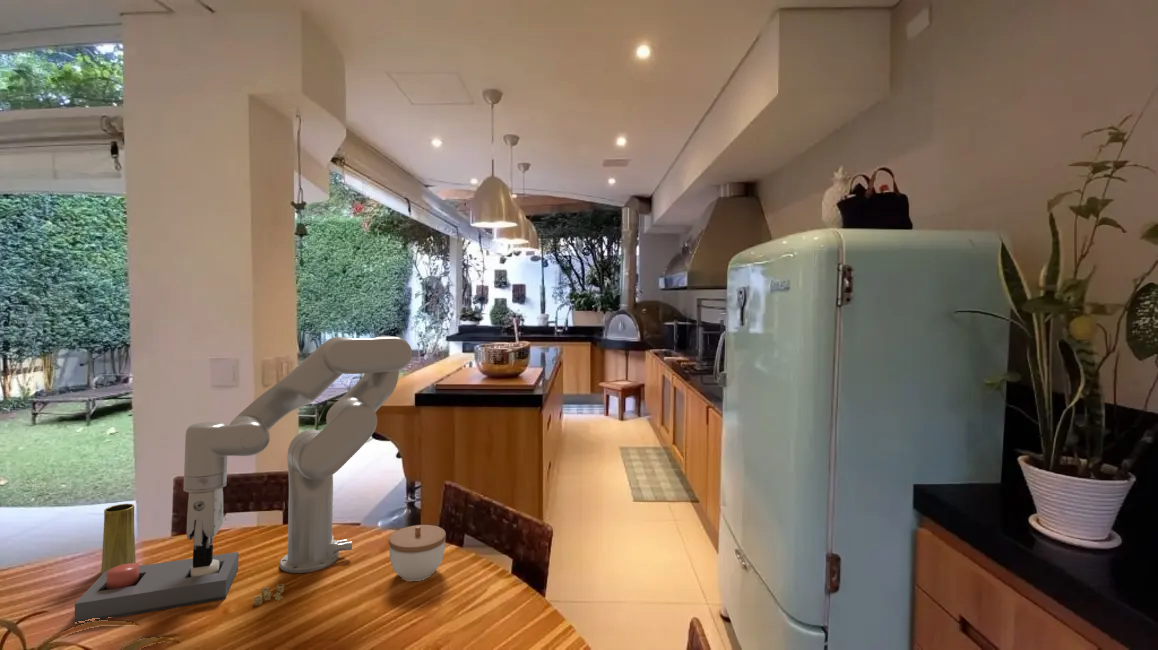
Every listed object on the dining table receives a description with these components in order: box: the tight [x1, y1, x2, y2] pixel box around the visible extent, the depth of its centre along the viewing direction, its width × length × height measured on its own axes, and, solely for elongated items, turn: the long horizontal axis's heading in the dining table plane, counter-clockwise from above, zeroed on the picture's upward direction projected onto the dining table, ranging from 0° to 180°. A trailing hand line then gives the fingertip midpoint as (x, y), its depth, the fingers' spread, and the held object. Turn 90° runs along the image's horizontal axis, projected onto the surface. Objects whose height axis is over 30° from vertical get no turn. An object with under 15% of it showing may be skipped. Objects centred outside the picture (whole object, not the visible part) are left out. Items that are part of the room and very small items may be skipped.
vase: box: [100, 503, 137, 575], centre depth 119 cm, size 6×6×14 cm
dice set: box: [253, 583, 285, 606], centre depth 109 cm, size 5×5×2 cm
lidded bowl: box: [388, 524, 447, 582], centre depth 120 cm, size 13×13×11 cm
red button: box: [106, 562, 140, 590], centre depth 106 cm, size 5×5×3 cm
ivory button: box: [191, 559, 219, 577], centre depth 112 cm, size 5×5×3 cm
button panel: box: [74, 551, 240, 623], centre depth 109 cm, size 24×14×4 cm, turn 114°
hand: (202, 565), depth 112 cm, fingers closed
